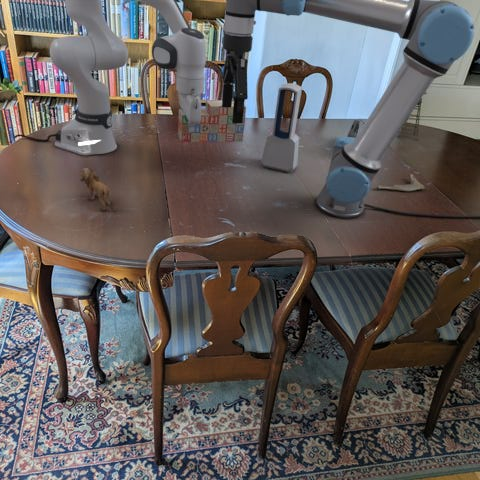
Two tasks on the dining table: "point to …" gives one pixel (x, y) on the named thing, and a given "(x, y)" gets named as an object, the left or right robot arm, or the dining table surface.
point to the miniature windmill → (415, 119)
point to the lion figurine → (95, 186)
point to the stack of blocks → (212, 125)
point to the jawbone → (405, 186)
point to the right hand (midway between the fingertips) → (231, 114)
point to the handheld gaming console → (354, 129)
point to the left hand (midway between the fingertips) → (188, 127)
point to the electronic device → (283, 134)
